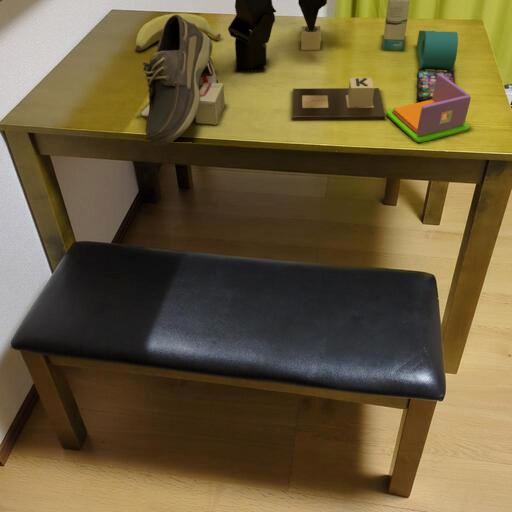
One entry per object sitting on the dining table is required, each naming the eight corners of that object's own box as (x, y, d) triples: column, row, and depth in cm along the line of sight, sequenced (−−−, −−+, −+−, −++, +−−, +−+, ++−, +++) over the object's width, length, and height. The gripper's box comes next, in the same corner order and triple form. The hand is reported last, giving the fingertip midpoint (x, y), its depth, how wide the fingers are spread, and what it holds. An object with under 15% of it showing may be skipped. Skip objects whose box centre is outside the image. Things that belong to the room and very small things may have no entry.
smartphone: (416, 99, 117) (417, 67, 128) (415, 103, 118) (417, 71, 129) (456, 102, 116) (454, 69, 127) (455, 106, 117) (453, 73, 127)
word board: (292, 120, 115) (292, 116, 115) (293, 91, 124) (293, 88, 123) (384, 119, 114) (385, 115, 113) (378, 91, 123) (378, 87, 122)
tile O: (301, 49, 140) (301, 32, 137) (301, 42, 143) (301, 25, 140) (320, 49, 140) (320, 32, 137) (319, 42, 143) (320, 25, 140)
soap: (157, 119, 117) (156, 115, 116) (137, 117, 118) (136, 113, 117) (176, 97, 124) (176, 93, 123) (157, 95, 125) (157, 91, 124)
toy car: (211, 63, 136) (208, 31, 131) (221, 99, 123) (218, 64, 118) (178, 66, 135) (174, 34, 130) (184, 102, 122) (180, 68, 117)
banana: (144, 3, 146) (223, 13, 146) (146, 22, 151) (223, 32, 151) (132, 38, 139) (215, 48, 139) (135, 57, 144) (215, 67, 143)
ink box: (403, 51, 137) (410, -1, 129) (382, 50, 138) (388, -2, 130) (403, 36, 144) (410, -14, 136) (383, 36, 144) (389, -14, 136)
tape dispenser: (421, 74, 128) (426, 39, 123) (416, 46, 139) (421, 13, 134) (452, 75, 127) (459, 40, 122) (445, 47, 138) (451, 14, 133)
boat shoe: (151, 162, 110) (108, 128, 103) (179, 57, 125) (143, 20, 118) (193, 143, 104) (150, 105, 97) (217, 34, 119) (182, -5, 112)
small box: (203, 81, 118) (193, 100, 112) (223, 83, 117) (214, 101, 111) (205, 104, 121) (195, 123, 115) (225, 106, 120) (216, 125, 115)
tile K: (349, 106, 117) (351, 87, 114) (348, 95, 120) (349, 76, 117) (372, 106, 116) (374, 87, 114) (370, 95, 120) (372, 76, 117)
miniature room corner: (471, 129, 110) (480, 97, 105) (417, 144, 107) (424, 110, 102) (435, 101, 118) (441, 69, 113) (383, 113, 115) (388, 81, 110)
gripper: (353, -37, 120) (347, 38, 130) (347, -62, 133) (343, 8, 144) (299, -36, 120) (297, 38, 131) (299, -61, 134) (298, 8, 145)
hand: (311, 22), depth 138 cm, fingers open, 9 cm apart
